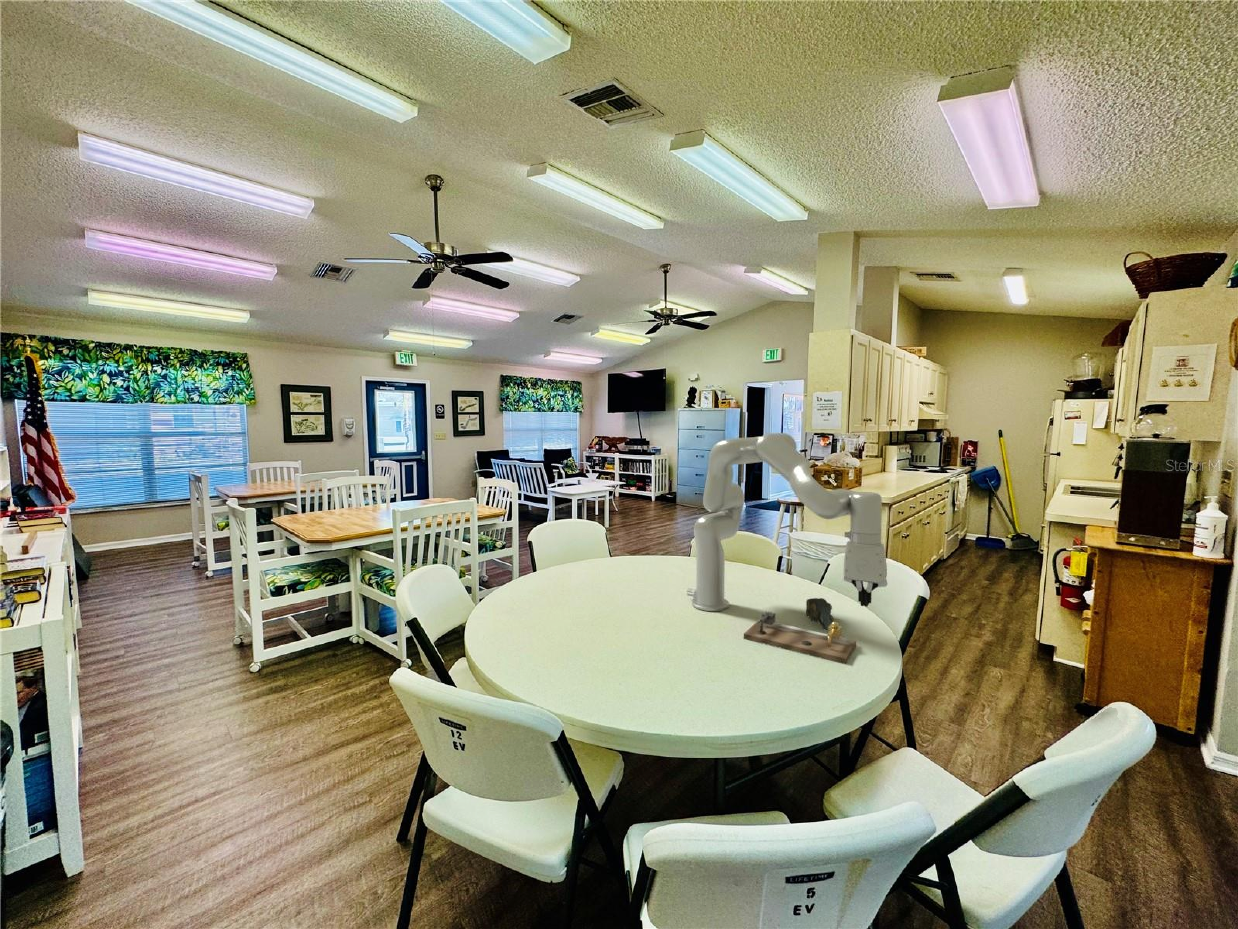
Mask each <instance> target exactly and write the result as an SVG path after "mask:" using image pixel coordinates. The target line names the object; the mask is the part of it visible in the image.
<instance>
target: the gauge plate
mask: <svg viewBox="0 0 1238 929" xmlns="http://www.w3.org/2000/svg"><path fill="white" fill-rule="evenodd" d="M743 639H744V640H748V641H752V642H755V643H760V644H763V643H765V644H764V645H767V644H769V645H768V646H771V645H772V647H775V646H776V648H779V647H781V648H780V649H783V648H784V649H783V650H788V651H791V650H792V652H795V651H796V652H795V653H799V652H800V653H799V654H804V655H807V654H809V655H808V656H812V657H815V658H819V657H821V658H820V659H824V660H828V661H832V662H836V663H841V664H844V665H846V664H847V663H848V661H849V659H850V658H851V656H852V654H853V653H854V650H855V649H856V647H857V640H854V639H852V638H846V637H842V636H841V637H840V639H836V638H831V647H828V633H824V632H819V631H814V630H810V629H806V628H805V629H804V628H802V627H796V626H793V625H787V624H783V623H780V622H779V623H778V622H776V613H775V612H770V611H766V610H765V611H764V612H763V613H762V614H761V618H760V619H758V620H757V621H756V622H755V623H754V624H753V625H752V626H750V627H749V628H748V629H747V630H746V631H745V632H744V633H743Z"/></svg>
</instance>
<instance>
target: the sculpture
mask: <svg viewBox="0 0 1238 929" xmlns="http://www.w3.org/2000/svg"><path fill="white" fill-rule="evenodd" d="M805 604H806V605H805V606H806V608H805V612H806V613H805V615H806V616H807V617H808V616H809V617H808V618H809V620H810V619H811V621H812V620H815V621H814V622H817V623H819V624H820V626H822V628H823V630H824V629H825V630H824V631H828V627H829V626H830V624H832V622H835V618H834V616H833V615H832V614H831V613H832V609H833V605H832V603H830V602H828V601H827V600H826V599H824V598H821V597H819V598H818V597H817V598H816V597H813V598H809V599H808V598H807V600H806V602H805ZM817 620H818V621H817Z"/></svg>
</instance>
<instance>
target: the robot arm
mask: <svg viewBox="0 0 1238 929" xmlns="http://www.w3.org/2000/svg"><path fill="white" fill-rule="evenodd" d="M797 448H798V446H797V443H796V440H795V439H794V437H792V435H790V434H788V433H785V432H773V433H766V434H764V435H762V436H754V437H734V438H728V439H727V438H726V439H723V440H720V441H719V442H717V443H715V444H714V445H713V447H711V450H710V453H709V457H708V468H707V474H706V479H705V485H704V491H703V495H702V496H703V498H702V504H703V507H704V509H705V510H706V511H708V512H710V513H709V514H705V515H702V516H701V517H699V518H697V520H696V521H695V523H694V525H693V536H694V540H695V548H696V550H695V551H696V559H695V560H696V574H695V575H696V576H695V577H696V585H695V586H696V588H695V589H693V588H690V587H689V588H687V590H686V596H688V597H692V598H693V599H692V601H691V605H692V607H694V608H696V609H698V610H701V611H705V612H706V611H707V612H719V611H723V610H727V609H728V608H729V606H730V602H729V601H728V600H727V599H726V598H725V576H726V575H725V571H726V570H725V565H726V564H725V563H726V562H725V558H726V557H725V551H724V548H723V544H722V542H721V541H724V540H726V539H730V538H732V537H734V536H735V535H736V534H737V532H739V528H740V525H741V518H742V514H743V510H744V505H745V504H744V503H745V494H744V491H743V488H742V487H741V486H740V485H739V484H738V483H736V482H734V481H733V479H734V468H733V466H734V465H746V464H754V463H761V462H763V463H766V464H767V465H768V466H770V467H771V468H772V469H774V471H775V472H776V473H778V474H779V475H780V476H782V477H783V478H784V479H785V480H786V481H787V482H788V484H789V485H790V488H791V490H792V491H793V493H794V495H795V497H796V498H797V499H798V500H799V502H801V504H803V505H804V506H805V507H806V508H808V509H809V510H810V511H811V512H812V513H813V514H814V515H816V516H818V517H819V518H821V519H825V520H833V519H837V518H841V517H846V516H850V522H849V523H850V526H849V527H850V528H849V531H845V532H844V538H848V539H849V540H848V541H847V542H846V544H845V545H846V546H845V551H844V558H843V560H844V561H843V581H844V582H847V583H849V584H852V586H854V587H855V589H856V590H857V591H858V592H857V593H858V597H857V598H858V600H857V601H858V602H860V607H863V606H864V607H865V608H867V607H868V606H869V605H870V604H872V596H873V595H872V592H873V591H874V590H875V589H877V588H885V587H887V586H888V580H887V575H888V572H887V570H888V568H887V557H886V555H887V554H886V549H885V544H884V543H883V542H882V517H883V516H882V513H883V512H882V511H883V510H882V509H883V508H882V507H883V506H882V505H883V500H882V496H881V494H879V493H878V492H871V491H855V490H851V489H847V488H837V489H834V490H833V489H832V490H827V488H825V487H824V486H822V485H821V484H820V483H819V482H818V481H817V480H816V479H814V477H813V475H812V474H811V472H810V468H811V462H810V460H809V459H808V458H807V457H805V456H804V455H803V454H802V453H801V452H799V451H798V450H797ZM864 582H865V583H867V584H866V587H864Z"/></svg>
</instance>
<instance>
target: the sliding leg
mask: <svg viewBox="0 0 1238 929" xmlns="http://www.w3.org/2000/svg"><path fill="white" fill-rule="evenodd" d="M827 634H828V647H831V638H836V639H840V637H842V634H843V627H842V626H841V625H839V622H837V621H834V622H832V624H830V626H829V627H828V630H827Z"/></svg>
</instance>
